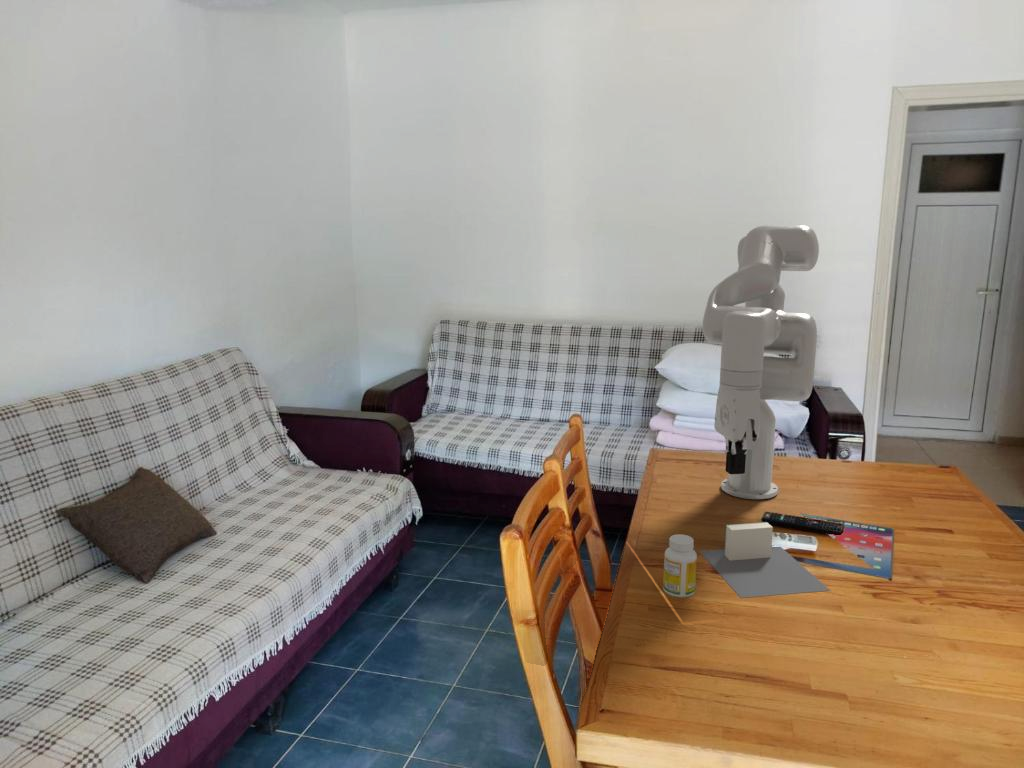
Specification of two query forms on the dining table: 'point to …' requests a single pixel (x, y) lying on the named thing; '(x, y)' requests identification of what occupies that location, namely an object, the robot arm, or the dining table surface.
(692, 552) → the supplement bottle
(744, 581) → the mat
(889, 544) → the tablet
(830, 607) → the dining table surface
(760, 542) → the tile
